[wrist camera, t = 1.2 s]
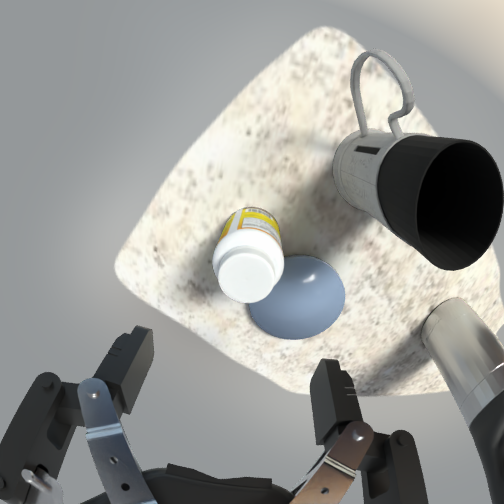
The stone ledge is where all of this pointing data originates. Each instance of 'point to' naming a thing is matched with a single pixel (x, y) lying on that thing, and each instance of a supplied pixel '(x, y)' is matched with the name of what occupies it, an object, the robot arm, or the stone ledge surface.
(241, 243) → the supplement bottle
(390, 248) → the stone ledge surface
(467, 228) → the tall grey black mug
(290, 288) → the coaster
